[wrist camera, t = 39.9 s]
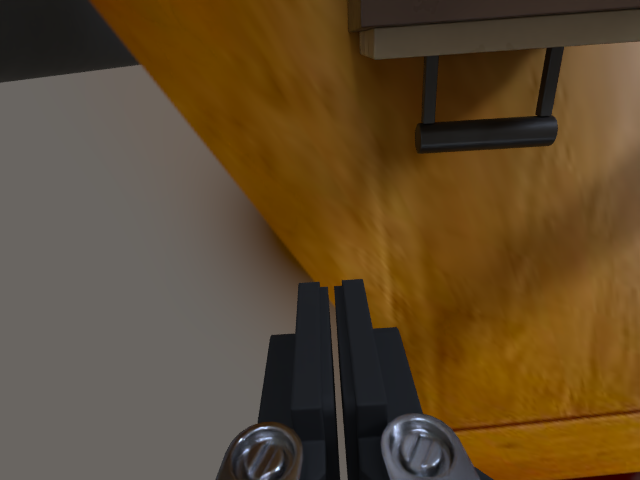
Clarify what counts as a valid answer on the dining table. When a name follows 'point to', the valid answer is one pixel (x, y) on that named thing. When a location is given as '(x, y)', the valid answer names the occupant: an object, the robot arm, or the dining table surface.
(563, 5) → the cabinet
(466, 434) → the dining table surface
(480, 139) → the drawer
